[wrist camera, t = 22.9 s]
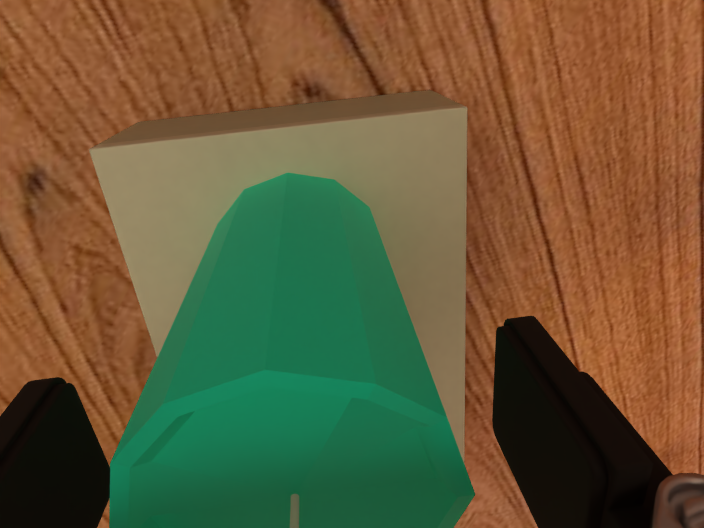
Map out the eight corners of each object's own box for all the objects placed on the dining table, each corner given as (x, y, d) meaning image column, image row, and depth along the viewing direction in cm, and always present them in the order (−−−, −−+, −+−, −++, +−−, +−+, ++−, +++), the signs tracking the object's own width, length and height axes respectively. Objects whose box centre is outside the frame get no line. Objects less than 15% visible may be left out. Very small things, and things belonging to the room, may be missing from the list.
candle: (285, 353, 19) (261, 772, 8) (175, 239, 17) (-59, 621, 6) (414, 269, 18) (579, 627, 7) (317, 134, 16) (346, 368, 5)
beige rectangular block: (228, 449, 28) (213, 530, 23) (137, 121, 20) (87, 149, 15) (438, 420, 28) (464, 495, 24) (431, 89, 20) (468, 106, 16)
